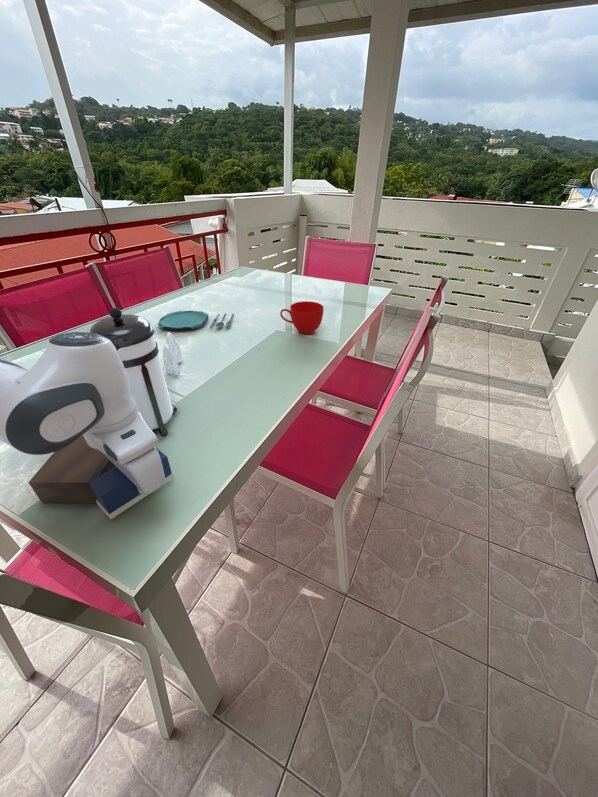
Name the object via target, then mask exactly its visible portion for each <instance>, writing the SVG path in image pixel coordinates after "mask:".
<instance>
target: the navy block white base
mask: <svg viewBox="0 0 598 797" xmlns="http://www.w3.org/2000/svg"><path fill="white" fill-rule="evenodd" d="M155 448H156V449H157V451H158V453H159V456H160V459H161V462H162V466H163V470H164V475H165V483H164V484H163V485H162V486H164V485H165V484H167V483H168V482H170V481H171V480H173V479H174V478H175V474H174V473H173V472H172V469H171V465H170V461H169V458H168V456H167V455H166V454H165V453H163V451H161V450H160V449H158V448H157V447H156V446H155ZM89 485H90V487H91V489H92V491H93V493H94V495H95V497H96V499H97V500H96V502H97V503H96V504H97V505H98V507H99V509H101V510H102V512H104V514H105V515H106V516H107V517H108V518H109V519H110V520H113V519H114V518H115V517H117V516H118V515H120V514H121V513H123V512H125V511H126V510H127V509H129V508H131V507H132V506H134V505H135V504H137V503H138V502H139V501H141V500H142V499H144V498H146V497H147V496H149V495H150V494H148V495H145V494H144V493H139V492H138V491H137V490H136V488H135V486H134V483H133V482H131V481H130V480H129V479H128V478H127V477H126V476H125V475H124V474H123V473H122V472H121V471H120V470H119V469H118V468H117V467H116V466H115V467H114V468H112V469H110V470H108V471H106V472H104V473H103V474H100V475H99V476H98V477H97V478H96V479H94V480H92V481H90V482H89Z"/></svg>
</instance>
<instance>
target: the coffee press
mask: <svg viewBox="0 0 598 797" xmlns="http://www.w3.org/2000/svg"><path fill="white" fill-rule="evenodd" d="M108 315H109V316H108V317H105V318H102V319H100V320H98V321H96V322H95V323H93V325H92V326H91V327H90V328H89V333H94V334H98V335H101V336H104V337H106V338H107V339H109V340H110V341H111V342H112V343H113V345H114V346H115V348H116V349H117V351H118V353H119V355H120V358H121V360H122V362H123V365H124V367H125V370H126V373H127V376H128V379H129V391H130V394H131V395H132V397H133V398H134V399H135V401H136V404H137V408H138V411H139V412H140V413H141V415H142V418H143V420H144V421H145V423H146V424H147V425H148V426H149V428H150V429H151V430H152V431H153V430H157V431H158V432H159V434H160V436H161V437H164V436H165V435H167V434H168V433H169V431H168V429H167V428H166V426H165V424H167V423H168V422H169V421H170V420H171V418H172V416H173V414H174V413H176V412H177V411H178V407H176V406H175V405H174V404H172V401H171V396H170V393H169V389H168V385H167V382H166V377H165V374H164V369H163V366H162V363H161V362H162V361H161V358H160V354H159V351H160V350H159V347H158V346H159V345H158V343H157V341H156V339H155V335H154V334H155V328H154V325H153V324H151V323H150V322H149V320H147V319H146V318H145V317H143V316H139V315H136V314H123V312H122V310H121V309H119V308H118V307H112V308H110V309H109V314H108Z"/></svg>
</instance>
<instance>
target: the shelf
mask: <svg viewBox="0 0 598 797" xmlns="http://www.w3.org/2000/svg"><path fill="white" fill-rule="evenodd" d="M109 461H110V460H109V459H108V458H107V457H106V456H105V455H104V454H103V453H102V452H101V451H99V450H98V449H94V448H92V447H90V446H89V445H88V444H87V443H86V441H85V438H84V436H83V435H82V436H80V437H79V438H78V439H76V440H75V441H73V442H72V443H70V444H69V445H67V446H66V447H64V448H62V449H60V450H58V451H55V452H52V453H51V455H50V456H49V457H48V458H47V460H45V462H44V463H43V464H42V466H41V467H40V468H39V469H38V470H37V471H36V473H35V474H34V475H33V476H32V477H31V479H30V480H29V481H28V485H29V486H30V488H31V489H32V490H33V492H34V493H35V495H36V496H37V498H38V499H39V501H40V502H41V504H97V502H96V500H97V499H96V497H95V495H94V493H93V491H92V489H91V487H90V485H89V482H90V481H92V480H94V479H96V478H97V477H99V476H101V473H102V471H103V470H104V469H105V467H106V466H107V464H108V462H109Z"/></svg>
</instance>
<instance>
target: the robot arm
mask: <svg viewBox="0 0 598 797" xmlns="http://www.w3.org/2000/svg"><path fill="white" fill-rule="evenodd" d="M89 332H90V331H89ZM89 332H88V331H86V332H85V331H84V332H83V331H74V332H73V331H72V332H66V333H60V334H57V335H55V336H52V337H50V338H49V340H48V341H47V344H46V348H45V350H44V351H43V353H42V354H41V356H40V357H39V358H38V360H37V361H36V363H34V365H32V367H31V368H30V369H26V368H25V367H23V366H21V365H19V364H17V363H15V362H12V361H8V360H4V359H0V441H1V442H2V443H5V444H6V445H8V446H10V447H11V448H13V449H16V450H17V451H19V452H21V453H24V454H26V455H27V454H28V455H33V456H43V455H48V454H53V453H54V452H55V451H58V450H60V449H62V448H64V447H66V446H67V445H69V444H70V443H72V442H73V441H75V440H76V439H78V438H79V437H80V436H82V435H83V436H84V438H85V441H86V443H87V444H88V445H89V446H90V447H92V448H94V449H98V450H99V451H101V452H102V453H103V454H104V455H105V456H106V457H107V458H108V459H109V461H110V463H112V464H113V465H114V466H115V467H117V468H118V469H119V470H120V471H121V472H122V473H123V474H124V475H125V476H126V477H127V478H128V479H129V480H130V481H131V482H133V483H134V486H135V488H136V490H137V491H138V492H139V493H144V494H145V495H147V496H149V495H151V494H152V493H154V492H155V491H157V490H158V489H160V488H162V487H163V486H164V485H165V484H166V483H165V475H164V470H163V466H162V462H161V459H160V456H159V453H158V451H157V449H158V448H157V447H156V446H158V445H159V440H158V436H157V435H156V434H155V433H154V431H153V430H151V429H150V428H149V426H148V425H147V424H146V423H145V421H144V420H143V418H142V415H141V413H140V412H139V411H138V408H137V404H136V401H135V399H134V398H133V397H132V395H131V394H130V391H129V379H128V376H127V373H126V370H125V367H124V365H123V362H122V360H121V358H120V355H119V353H118V351H117V349H116V348H115V346H114V345H113V343H112V342H111V341H110V340H109V339H107V338H106V337H104V336H101V335H98V334H94V333H89ZM155 447H156V448H157V449H156V448H155ZM164 483H165V484H164ZM163 484H164V485H163ZM148 494H149V495H148Z"/></svg>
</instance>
